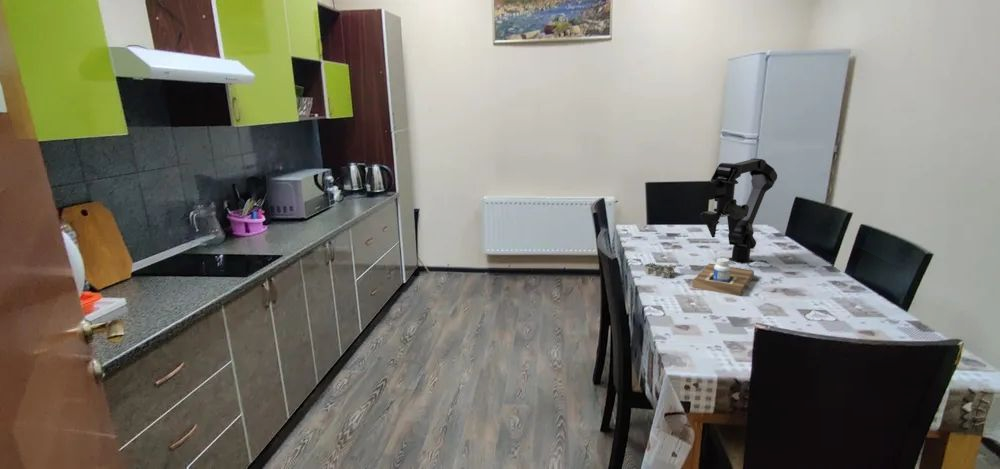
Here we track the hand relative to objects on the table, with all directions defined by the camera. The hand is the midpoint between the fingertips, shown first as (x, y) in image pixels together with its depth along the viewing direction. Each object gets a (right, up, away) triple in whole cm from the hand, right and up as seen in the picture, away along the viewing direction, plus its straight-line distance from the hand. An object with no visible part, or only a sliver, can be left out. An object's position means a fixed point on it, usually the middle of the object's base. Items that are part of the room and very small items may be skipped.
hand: (722, 235), depth 194 cm
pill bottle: (-7, -18, -15) cm, 24 cm away
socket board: (-5, -17, -12) cm, 21 cm away
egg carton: (-25, -15, -1) cm, 29 cm away
